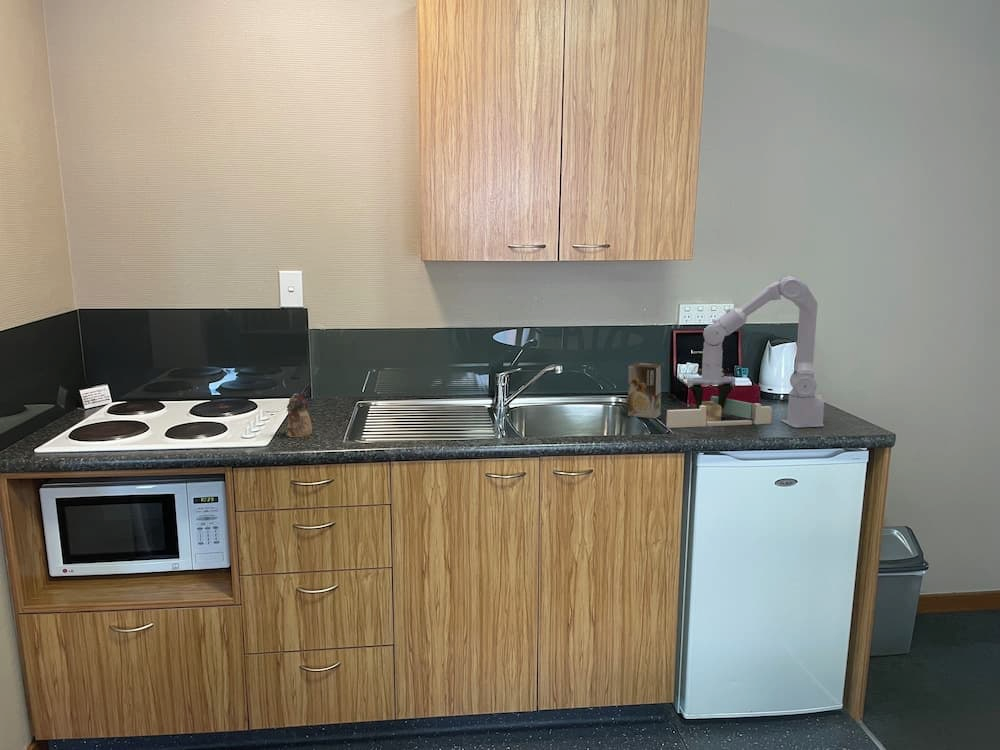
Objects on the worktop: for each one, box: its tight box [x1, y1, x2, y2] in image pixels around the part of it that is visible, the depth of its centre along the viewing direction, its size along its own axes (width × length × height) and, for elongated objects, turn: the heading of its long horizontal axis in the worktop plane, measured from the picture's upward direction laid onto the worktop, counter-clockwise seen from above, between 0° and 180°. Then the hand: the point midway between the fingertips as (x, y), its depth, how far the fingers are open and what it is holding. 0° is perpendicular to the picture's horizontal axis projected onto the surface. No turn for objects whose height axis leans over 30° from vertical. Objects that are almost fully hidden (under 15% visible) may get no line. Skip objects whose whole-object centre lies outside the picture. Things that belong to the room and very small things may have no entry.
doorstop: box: [702, 400, 722, 422], centre depth 237 cm, size 4×7×5 cm, turn 8°
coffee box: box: [627, 362, 663, 419], centre depth 241 cm, size 9×6×16 cm
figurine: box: [286, 392, 313, 438], centre depth 221 cm, size 7×7×12 cm
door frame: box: [666, 402, 773, 429], centre depth 230 cm, size 32×2×6 cm, turn 98°
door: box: [710, 395, 755, 420], centre depth 236 cm, size 15×1×4 cm, turn 41°
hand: (709, 408), depth 237 cm, fingers open, 6 cm apart
